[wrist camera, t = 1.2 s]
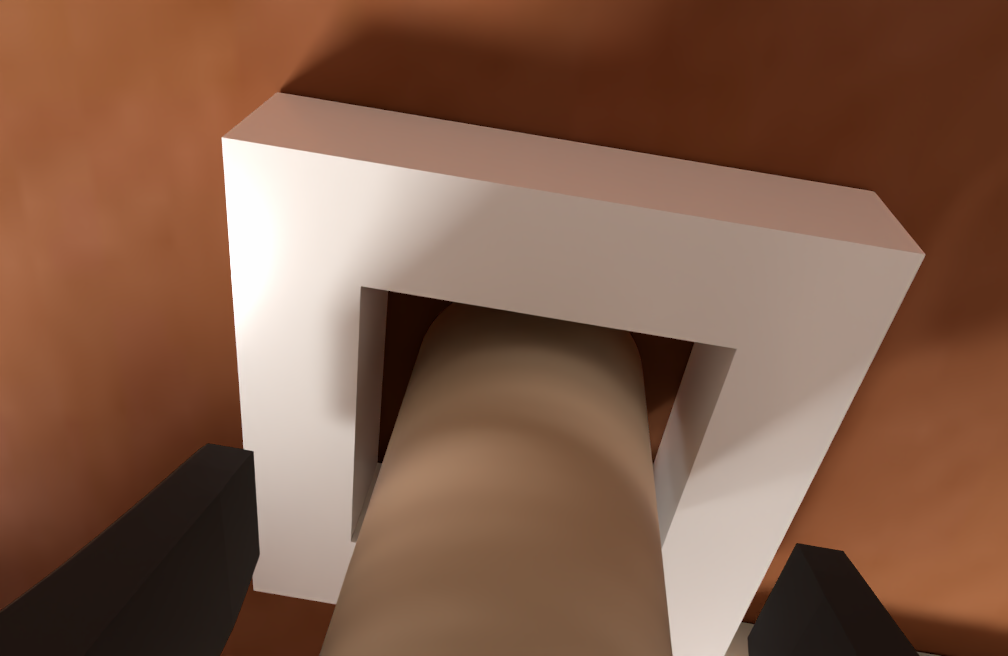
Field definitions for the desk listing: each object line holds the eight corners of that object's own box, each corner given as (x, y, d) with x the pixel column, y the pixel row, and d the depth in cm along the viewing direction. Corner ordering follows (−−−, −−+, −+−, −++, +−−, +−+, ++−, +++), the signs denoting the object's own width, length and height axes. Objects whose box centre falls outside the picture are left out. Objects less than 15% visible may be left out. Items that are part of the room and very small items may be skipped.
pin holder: (288, 511, 16) (253, 590, 14) (277, 92, 11) (222, 137, 9) (703, 580, 16) (717, 668, 14) (874, 191, 11) (925, 254, 9)
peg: (410, 444, 15) (258, 959, 8) (426, 262, 12) (236, 762, 6) (615, 478, 15) (640, 1023, 8) (669, 302, 12) (765, 852, 6)
